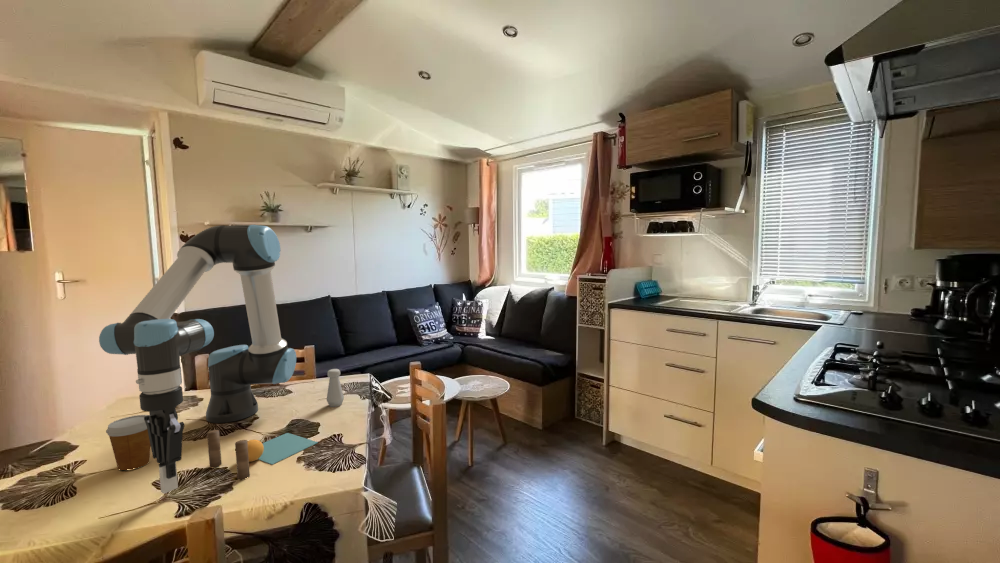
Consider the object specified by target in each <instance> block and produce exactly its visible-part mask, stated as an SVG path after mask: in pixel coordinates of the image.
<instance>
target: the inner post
mask: <svg viewBox="0 0 1000 563" xmlns="http://www.w3.org/2000/svg"><path fill="white" fill-rule="evenodd" d="M206 435H207V436H206V437H207V448H208V460H209V468H210V467H215V468H218V467H220V466H222V464H223V463H222V452H221V439H220V438H221V436H220V430H219V429H213V430H210V431H207V433H206ZM217 466H218V467H217Z"/></svg>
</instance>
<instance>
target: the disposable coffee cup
mask: <svg viewBox="0 0 1000 563" xmlns="http://www.w3.org/2000/svg"><path fill="white" fill-rule="evenodd" d="M148 415H149V414H140V415H139V414H137V415H131V416H127V417H123V418H120V419H117V420H114V421H112V422H110V423H109V424H108V425H107V429H106V430H105V433H106V434H107V436H108V438H109V440H110V444H111V447H112V452H113V456H114V458H115V462H116V466H117V470H118V469H120V470H127V469H133V468H138V467H140V468H142V467H141V466H143V467H145V466H146V465H148V464H149V463H150V460H151V459H150V458H151V445H150V440H149V435H148V430H147V426H146V423H145V420H144V417H145V416H148ZM148 462H149V463H148ZM147 463H148V464H147ZM144 465H145V466H144ZM138 469H139V468H138Z"/></svg>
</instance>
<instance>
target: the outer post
mask: <svg viewBox="0 0 1000 563" xmlns="http://www.w3.org/2000/svg"><path fill="white" fill-rule="evenodd" d="M247 441H248V440H247V439H239V440H237V441H236V442H235V443H234V447H235V462H236V463H235V464H236V475H237V476H236V477H237V480H238V479H244V480H246V479H245V478H247V477H248V478H250V475H251V474H250V462H249V457H248V442H247ZM248 478H247V479H248Z"/></svg>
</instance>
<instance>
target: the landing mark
mask: <svg viewBox="0 0 1000 563" xmlns="http://www.w3.org/2000/svg"><path fill="white" fill-rule="evenodd" d="M261 443H262V442H261ZM318 443H319V441H315V440H312V439H309V438H306V437H302V436H299V435H296V434H292V433H289V432H286V433H284V434H282V435H279V436H276V437H274V438H272V439H269V440H267V441H265V442H263V443H262V444H263V446H264V451H263V454H262V455H261V457H260V458H258V459H257V460H258V461H261V462H264V463H266V464H269V465H271V466H272V465H275V464H276V463H279V462H281V461H283V460H285V459H288V458H290V457H292V456H294V455H296V454H298V453H300V452H302V451H304V450H306V449H309V448H310V447H312V446H314V445H317V444H318Z"/></svg>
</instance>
